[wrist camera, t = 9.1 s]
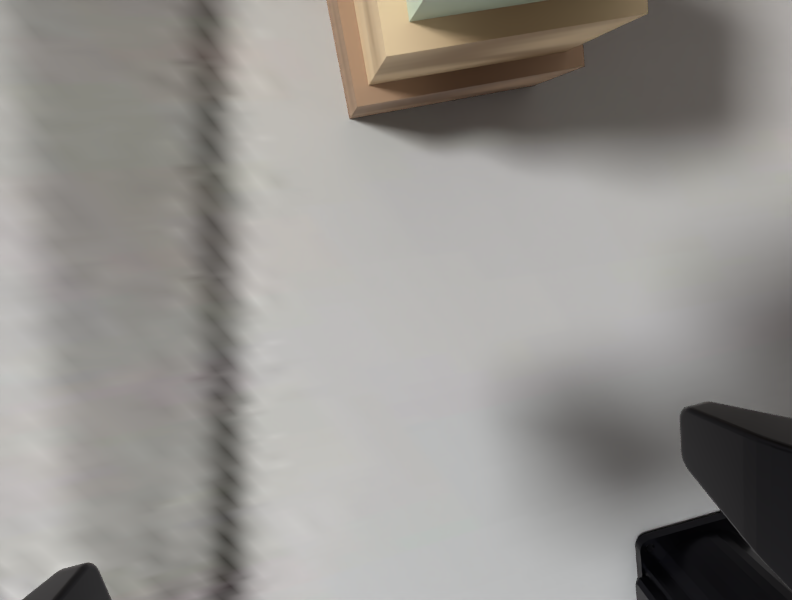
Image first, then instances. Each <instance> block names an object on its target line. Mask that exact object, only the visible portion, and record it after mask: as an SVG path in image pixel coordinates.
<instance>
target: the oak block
mask: <svg viewBox="0 0 792 600" xmlns="http://www.w3.org/2000/svg"><path fill="white" fill-rule="evenodd" d="M354 5H355V11H356V17H357V22H358V28H359V34H360V39H361V45H362V51H363V56H364V62H365V68H366V73H367V79H368V84H369V85H373V84H379V83H385V82H391V81H397V80H403V79H408V78H414V77H420V76H426V75H432V74H438V73H444V72H450V71H456V70H462V69H467V68H473V67H479V66H485V65H491V64H497V63H503V62H509V61H515V60H521V59H526V58H532V57H538V56H544V55H550V54H556V53H562V52H566V51H569V50H571V49H573V48H575V47H577V46H579V45H581V44H584V43H586V42H588V41H590V40H592V39H594V38H597V37H599V36H601V35H603V34H605V33H607V32H609V31H612V30H614V29H616V28H618V27H620V26H622V25H624V24H627V23H629V22H631V21H633V20H635V19H637V18H640V17H642V16H644V15H646V14H648V0H546V1H540V2H533V3H527V4H520V5H514V6H508V7H501V8H495V9H488V10H482V11H476V12H469V13H463V14H457V15H450V16H444V17H437V18H431V19H425V20H418V21H412V22H409V16H408V10H407V3H406V0H354Z"/></svg>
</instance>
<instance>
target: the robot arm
mask: <svg viewBox="0 0 792 600" xmlns="http://www.w3.org/2000/svg"><path fill="white" fill-rule="evenodd" d="M680 433H681V453H682V458H683V461H684V463H685V465H686V467H687V468H688V470H689V471H690V473H691V474H692V475H693V476H694V478H695V479H696V480H697V481H698V482H699V484H700V485H701V486H702V487H703V489H704V490H705V491H706V492H707V494H708V495H709V496H710V497H711V499H712V500H713V501H714V502H715V504H716V505H717V506H718V507H719V509H720V510H721V511H722V512H721V513H717V514H714V515H710V516H707V517H703V518H700V519H696V520H692V521H689V522H685V523H682V524H678V525H675V526H671V527H667V528H664V529H660V530H657V531H653V532H650V533H646V534H643V535H641V536H640V537H639V538H638V539H637V540H636V544H635V548H636V561H637V574H638V578H637V581H636V594H637V600H792V418H788V417H783V416H778V415H773V414H768V413H763V412H758V411H753V410H748V409H743V408H739V407H734V406H729V405H724V404H719V403H714V402H703V403H699V404H695V405H691V406H688V407H685V408H684V409H683V410H682V411H681V414H680ZM22 600H111V597H110V595H109V593H108V590H107V588H106V586H105V583H104V581H103V579H102V577H101V574H100V572H99V570H98V568H97V567H96V566H95V565H94V564H92V563H84V564H80V565H76V566H72V567H68V568H64V569H62V570H60V571H58V572H56V573H55V574H54V575H53V576H51V577H50V578H49V579H48V580H46V581H45V582H44V583H43V584H41V585H40V586H39V587H37V588H36V589H35V590H34V591H32V592H31V593H30V594H29V595H27V596H26V597H25V598H24V599H22Z"/></svg>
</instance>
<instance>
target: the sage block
mask: <svg viewBox="0 0 792 600" xmlns="http://www.w3.org/2000/svg"><path fill="white" fill-rule="evenodd" d="M540 1H546V0H406V3H407V10H408V16H409V22H412V21H418V20H425V19H431V18H437V17H444V16H450V15H457V14H463V13H469V12H476V11H482V10H488V9H495V8H501V7H508V6H514V5H520V4H527V3H533V2H540Z"/></svg>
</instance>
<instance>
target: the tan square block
mask: <svg viewBox="0 0 792 600" xmlns="http://www.w3.org/2000/svg"><path fill="white" fill-rule="evenodd" d="M327 5H328V10H329V16H330V21H331V26H332V31H333V36H334V41H335V46H336V51H337V57H338V62H339V67H340V72H341V77H342V82H343V87H344V93H345V98H346V103H347V108H348V113H349V118H350V119H352V118H357V117H363V116H369V115H374V114H380V113H385V112H391V111H396V110H402V109H407V108H413V107H418V106H424V105H429V104H435V103H441V102H446V101H452V100H457V99H463V98H468V97H474V96H479V95H485V94H490V93H496V92H501V91H507V90H513V89H518V88H524V87H529V86H534V85H537V84H539V83H542V82H545V81H547V80H550V79H553V78H555V77H558V76H560V75H563V74H566V73H568V72H571V71H574V70H576V69H579V68H581V67H584V66H585V65H584V51H583V44H581V45H579V46H577V47H575V48H573V49H571V50H569V51H566V52H562V53H556V54H550V55H544V56H538V57H532V58H526V59H521V60H515V61H509V62H503V63H497V64H491V65H485V66H479V67H473V68H467V69H462V70H456V71H450V72H444V73H438V74H432V75H426V76H420V77H414V78H408V79H403V80H397V81H391V82H385V83H379V84H373V85H369V84H368V79H367V73H366V68H365V62H364V56H363V51H362V45H361V39H360V34H359V28H358V22H357V17H356V11H355V5H354V0H327Z"/></svg>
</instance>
